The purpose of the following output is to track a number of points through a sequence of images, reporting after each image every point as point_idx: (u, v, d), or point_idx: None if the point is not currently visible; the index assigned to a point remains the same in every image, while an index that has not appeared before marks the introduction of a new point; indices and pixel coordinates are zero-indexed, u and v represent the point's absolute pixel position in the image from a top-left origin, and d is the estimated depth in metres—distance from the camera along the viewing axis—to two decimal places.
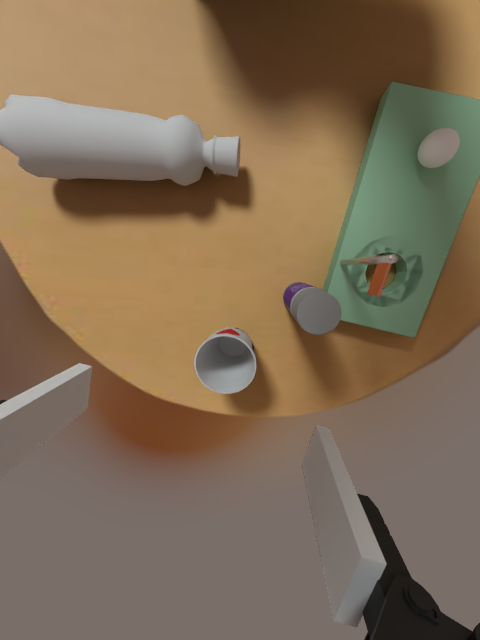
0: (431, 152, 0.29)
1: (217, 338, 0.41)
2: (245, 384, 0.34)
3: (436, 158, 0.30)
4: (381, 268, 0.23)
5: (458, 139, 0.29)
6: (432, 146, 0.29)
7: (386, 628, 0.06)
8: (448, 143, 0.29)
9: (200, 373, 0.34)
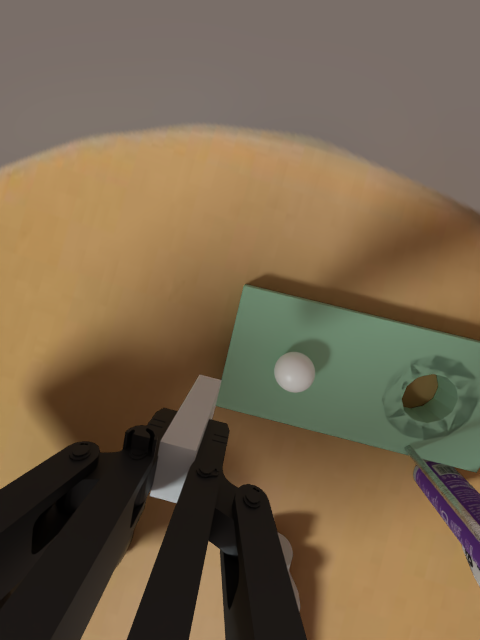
0: (304, 390, 0.24)
1: None
2: None
3: (311, 383, 0.24)
4: None
5: (294, 366, 0.24)
6: (298, 391, 0.24)
7: (183, 500, 0.08)
8: (300, 381, 0.23)
9: None
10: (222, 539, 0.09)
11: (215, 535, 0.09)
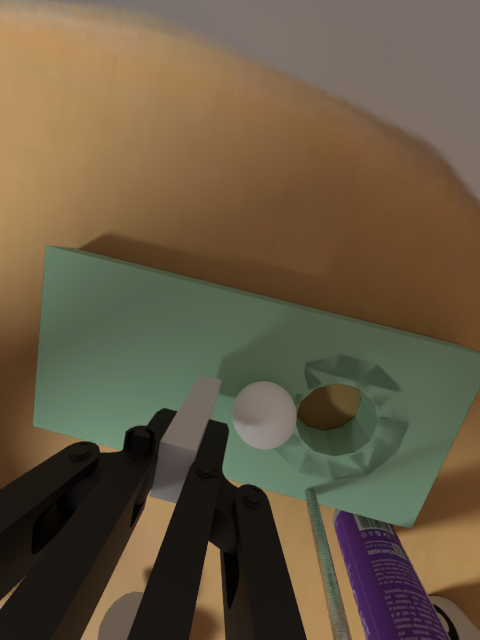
0: (241, 437, 0.15)
1: None
2: None
3: (245, 431, 0.14)
4: None
5: (242, 389, 0.16)
6: (238, 434, 0.16)
7: (183, 500, 0.08)
8: (233, 411, 0.16)
9: None
10: (222, 539, 0.09)
11: (215, 535, 0.09)
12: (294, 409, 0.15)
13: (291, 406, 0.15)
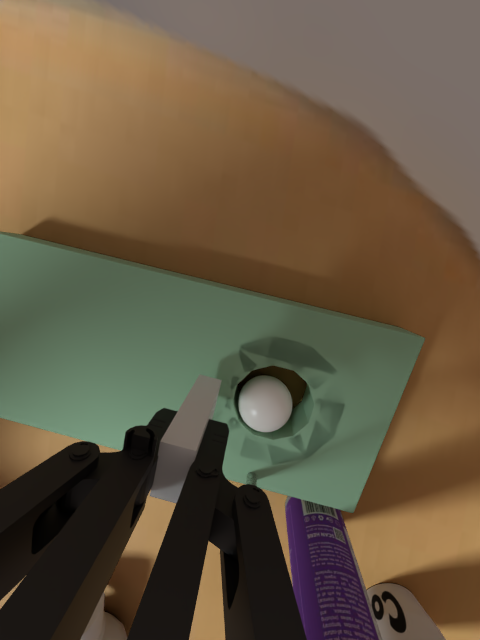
0: None
1: None
2: None
3: None
4: None
5: (285, 410, 0.17)
6: None
7: (183, 500, 0.08)
8: None
9: None
10: (222, 539, 0.09)
11: (215, 535, 0.09)
12: (246, 383, 0.19)
13: (250, 381, 0.19)
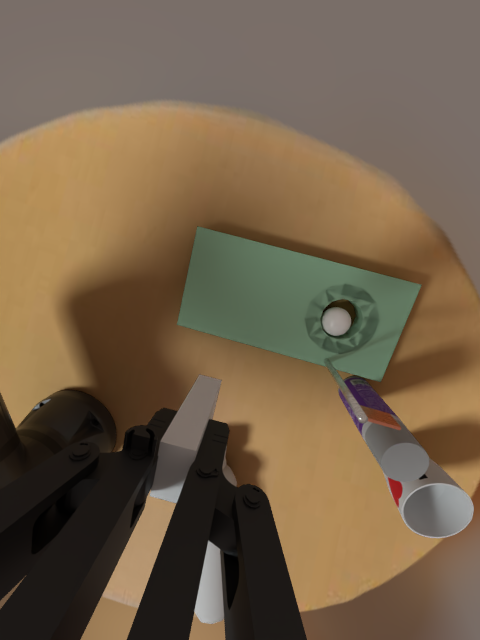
0: None
1: None
2: (463, 493, 0.31)
3: None
4: None
5: (349, 321, 0.34)
6: None
7: (183, 500, 0.08)
8: None
9: (441, 530, 0.32)
10: (222, 539, 0.09)
11: (215, 535, 0.09)
12: (326, 310, 0.35)
13: (328, 309, 0.35)
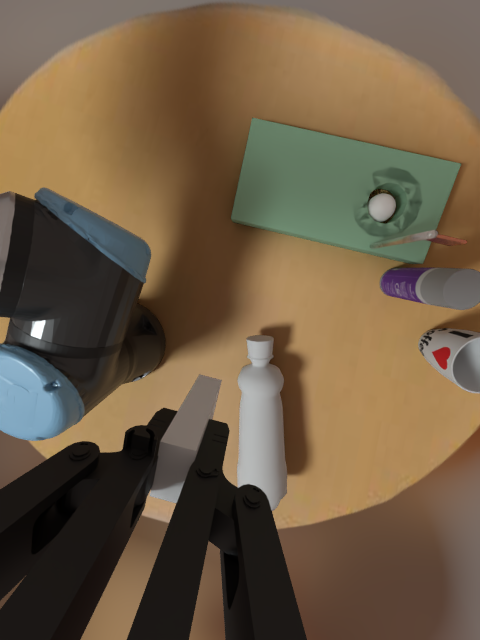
0: None
1: None
2: None
3: None
4: (433, 239, 0.26)
5: (394, 203, 0.37)
6: None
7: (183, 500, 0.08)
8: None
9: None
10: (222, 540, 0.09)
11: (215, 535, 0.09)
12: (371, 198, 0.38)
13: None
